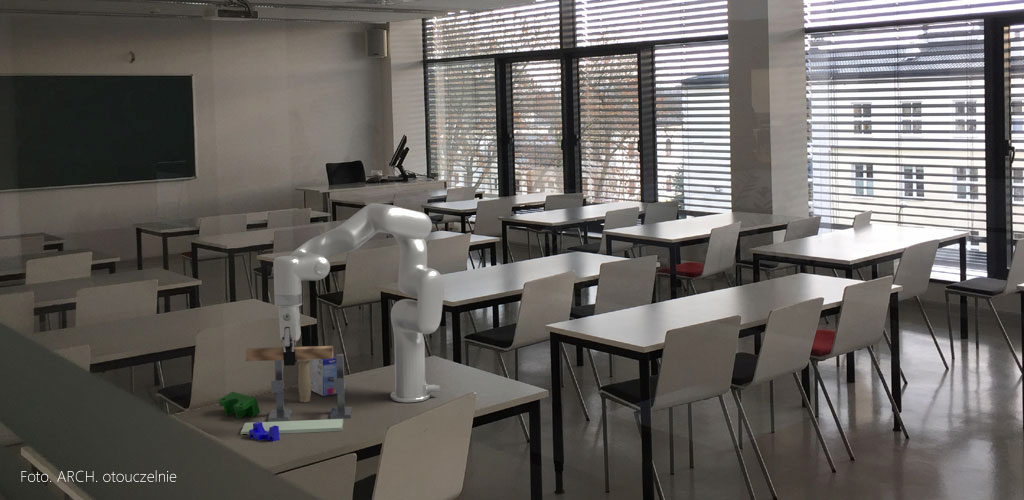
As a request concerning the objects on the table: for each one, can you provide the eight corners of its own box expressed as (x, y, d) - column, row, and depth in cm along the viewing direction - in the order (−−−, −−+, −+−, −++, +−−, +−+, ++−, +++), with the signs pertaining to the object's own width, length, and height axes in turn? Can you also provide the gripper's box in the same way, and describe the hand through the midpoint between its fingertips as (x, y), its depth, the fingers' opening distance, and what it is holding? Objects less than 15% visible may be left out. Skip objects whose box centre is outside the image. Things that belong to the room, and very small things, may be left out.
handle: (303, 405, 293) (301, 358, 291) (293, 400, 298) (291, 354, 296) (317, 402, 296) (315, 355, 294) (307, 397, 301) (305, 351, 299)
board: (343, 422, 277) (343, 418, 277) (341, 430, 269) (341, 427, 269) (245, 426, 273) (245, 422, 273) (240, 435, 265) (240, 431, 265)
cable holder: (249, 438, 263) (248, 424, 263) (258, 435, 266) (258, 421, 266) (269, 443, 259) (269, 429, 258) (279, 440, 262) (278, 426, 261)
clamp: (228, 428, 285) (214, 401, 285) (243, 418, 290) (229, 392, 289) (247, 421, 277) (233, 394, 277) (263, 411, 282) (249, 385, 281)
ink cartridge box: (338, 393, 306) (337, 350, 304) (323, 396, 302) (321, 352, 300) (324, 387, 313) (323, 344, 311) (309, 390, 310) (307, 347, 308)
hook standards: (351, 410, 288) (350, 352, 286) (350, 419, 279) (348, 360, 277) (271, 413, 285) (269, 355, 283) (267, 422, 276) (265, 362, 274)
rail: (333, 355, 271) (333, 345, 271) (332, 358, 268) (332, 348, 268) (247, 358, 268) (247, 348, 268) (246, 361, 265) (245, 350, 265)
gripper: (299, 305, 258) (301, 370, 261) (304, 294, 274) (306, 356, 277) (270, 305, 257) (273, 371, 260) (278, 295, 273) (280, 357, 276)
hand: (290, 363), depth 268 cm, fingers closed on rail, 3 cm apart
